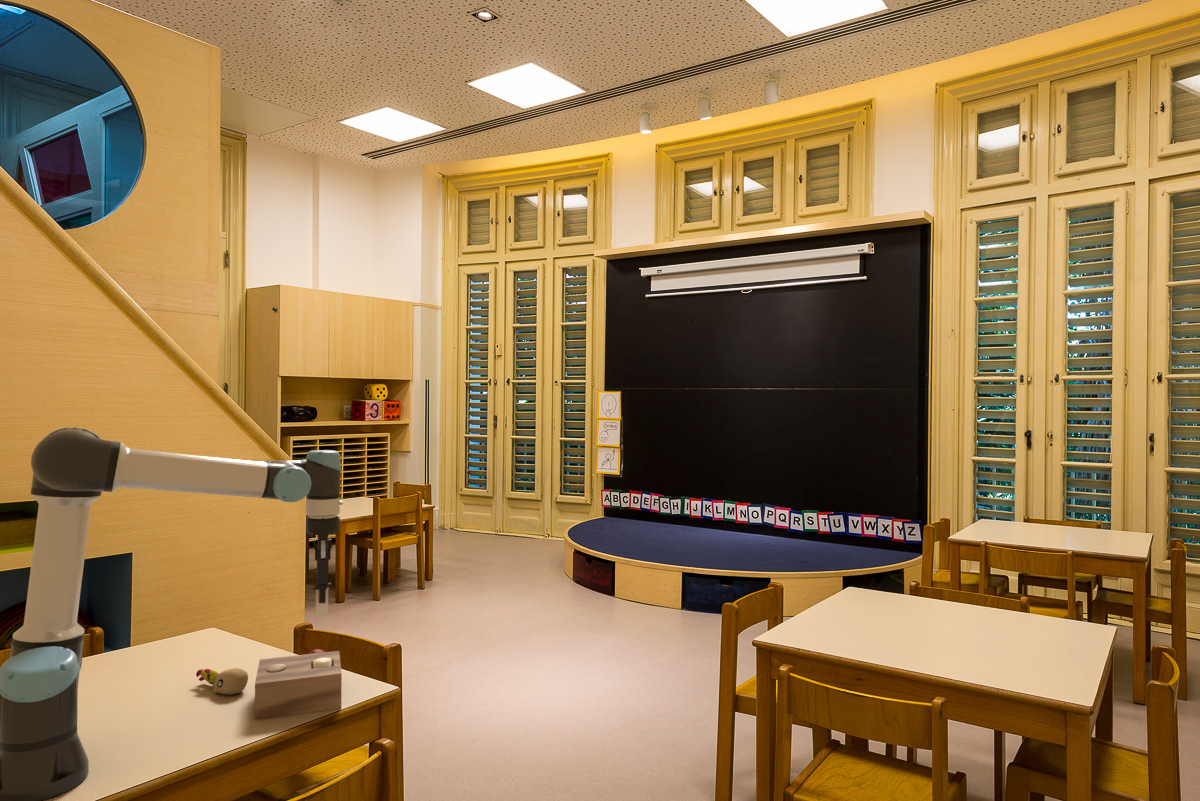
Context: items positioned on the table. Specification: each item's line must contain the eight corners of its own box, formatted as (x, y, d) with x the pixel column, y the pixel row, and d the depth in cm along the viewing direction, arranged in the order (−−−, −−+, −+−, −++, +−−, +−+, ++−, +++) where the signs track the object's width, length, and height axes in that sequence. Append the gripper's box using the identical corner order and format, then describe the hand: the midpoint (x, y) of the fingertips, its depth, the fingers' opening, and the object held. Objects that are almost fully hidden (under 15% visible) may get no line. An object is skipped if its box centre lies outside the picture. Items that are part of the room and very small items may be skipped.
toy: (183, 676, 181) (223, 687, 174) (207, 654, 187) (247, 663, 179) (195, 693, 184) (235, 705, 177) (218, 671, 189) (258, 681, 182)
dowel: (331, 696, 176) (331, 662, 176) (313, 698, 175) (313, 664, 174) (331, 690, 180) (331, 656, 180) (313, 692, 178) (313, 658, 178)
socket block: (341, 708, 171) (341, 671, 171) (254, 720, 165) (254, 681, 165) (338, 682, 186) (339, 649, 186) (259, 692, 180) (259, 657, 180)
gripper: (341, 519, 172) (339, 622, 172) (339, 511, 184) (337, 606, 184) (305, 520, 169) (304, 625, 169) (306, 512, 181) (305, 609, 182)
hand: (321, 615), depth 177 cm, fingers closed
